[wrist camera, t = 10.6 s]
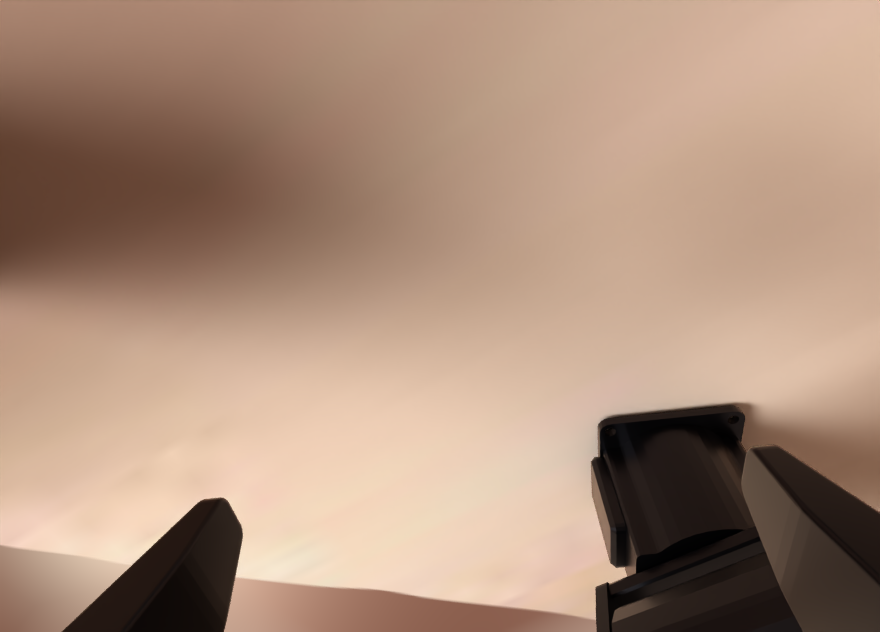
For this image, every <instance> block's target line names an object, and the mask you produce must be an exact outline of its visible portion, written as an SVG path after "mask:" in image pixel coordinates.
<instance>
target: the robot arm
mask: <svg viewBox="0 0 880 632" xmlns="http://www.w3.org/2000/svg"><path fill="white" fill-rule="evenodd" d="M731 416H733V417H731ZM730 417H731V418H730ZM744 422H745V415H744V414H743V412H742V411H741V410H740V408H739V407H737V406H723V407H714V408H704V409H694V410H685V411H675V412H666V413H656V414H646V415H637V416H627V417H617V418H608V419H604V420H603V421H601V422H600V423H599V424H598V457H594V459H593V460H592V461H591V479H592V497H593V500H594V504H595V508H596V512H597V515H598V519H599V523H600V527H601V530H602V534H603V538H604V541H605V545H606V549H607V553H608V556H609V560H610V563H611V564H612V565H614V566H615V567H616V568H618V567H625V570H626V573H627V576H628V577H626V578H623V579H621V580H618V581H616V582H613V583H611V584H609V583H608V582H607V583H604V584H602V585H599V586H597V587H596V624H597V632H880V512H878V511H877V510H875V509H874V508H872V507H871V506H869V505H867V504H866V503H864V502H863V501H861V500H860V499H858V498H857V497H855V496H854V495H852V494H851V493H849V492H848V491H846V490H845V489H843V488H842V487H840V486H839V485H837V484H836V483H834V482H833V481H831V480H830V479H828V478H827V477H825V476H824V475H822V474H820V473H819V472H817V471H816V470H814V469H813V468H811V467H810V466H808V465H807V464H805V463H804V462H802V461H801V460H799V459H798V458H796V457H795V456H793V455H792V454H790V453H789V452H787V451H786V450H784V449H783V448H781V447H779V446H776V445H764V446H753V447H750V448H749V449H748V450H747V452H746V450H745V449H744V447H743V445H742V444H741V439H742V433H743V427H744ZM609 428H613V429H611V430H607V429H609ZM242 538H243V532H242V527H241V524H240V522H239V520H238V519H237V517H236V515H235V513H234V511H233V509H232V508H231V506H230V504H229V502H228V501H227V500H226V499H224V498H211V499H204V500H202V501H200V502H199V503H197V504H196V505H195V506H194V507H193V508H192V509H191V510H190V511H189V512H188V513H187V514H186V515H185V516H184V517H182V518H181V519H180V520H179V521H178V522H177V523H176V524H175V525H174V526H173V527H172V528H171V529H170V530H169V531H168V532H167V533H166V534H164V535H163V536H162V537H161V538H160V539H159V540H158V541H157V542H156V543H155V544H154V545H153V546H152V547H151V548H150V549H149V550H148V551H147V552H145V553H144V554H143V555H142V556H141V557H140V558H139V559H138V560H137V561H136V562H135V563H134V564H133V565H132V566H131V567H130V568H129V569H128V570H127V571H125V572H124V573H123V574H122V575H121V576H120V577H119V578H118V579H117V580H116V581H115V582H114V583H113V584H112V585H111V586H110V587H109V588H107V589H106V590H105V591H104V592H103V593H102V594H101V595H100V596H99V597H98V598H97V599H96V600H95V601H94V602H93V603H92V604H91V605H89V606H88V607H87V608H86V609H85V610H84V611H83V612H82V613H81V614H80V615H79V616H78V617H77V618H76V619H75V620H74V621H73V622H72V623H71V624H69V625H68V626H67V627H66V628H65V629H64V630H63V631H62V632H224V629H225V625H226V621H227V616H228V611H229V606H230V602H231V596H232V591H233V586H234V581H235V576H236V570H237V565H238V560H239V555H240V550H241V544H242Z"/></svg>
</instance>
